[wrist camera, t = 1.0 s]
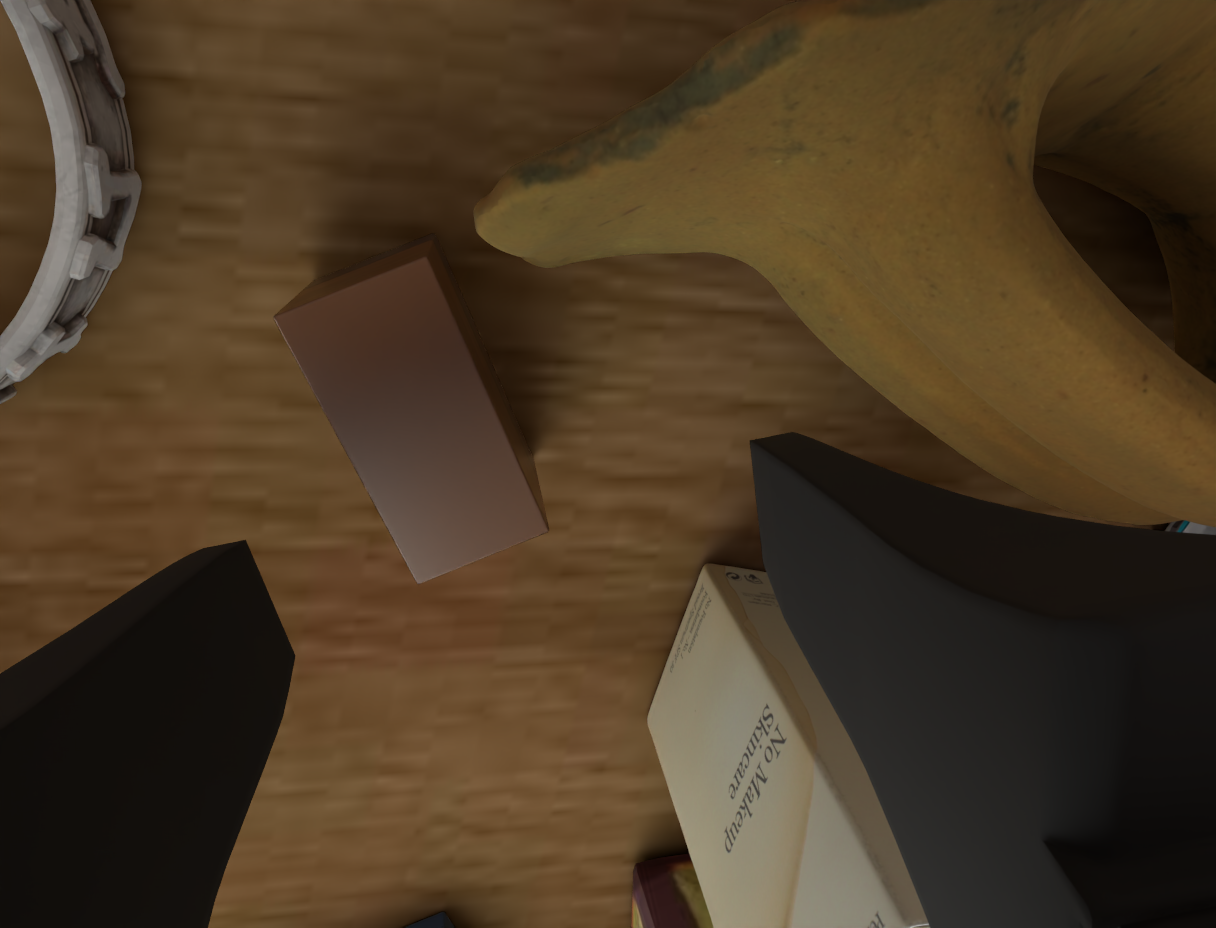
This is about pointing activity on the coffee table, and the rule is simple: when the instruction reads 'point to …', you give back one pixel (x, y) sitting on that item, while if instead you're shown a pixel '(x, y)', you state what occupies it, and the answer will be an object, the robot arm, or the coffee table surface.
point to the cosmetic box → (770, 773)
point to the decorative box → (668, 895)
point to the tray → (434, 922)
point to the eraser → (417, 407)
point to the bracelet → (73, 180)
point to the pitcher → (940, 219)
